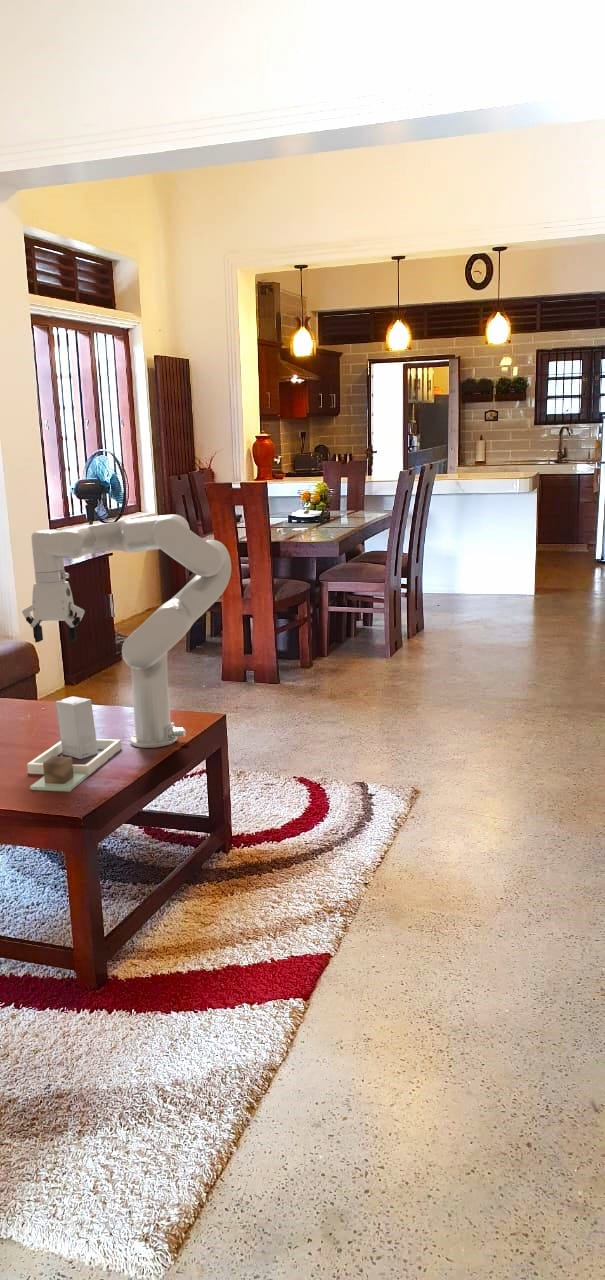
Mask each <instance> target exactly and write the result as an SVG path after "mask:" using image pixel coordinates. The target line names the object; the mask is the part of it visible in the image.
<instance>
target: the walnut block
mask: <svg viewBox="0 0 605 1280" xmlns="http://www.w3.org/2000/svg"><path fill="white" fill-rule="evenodd" d="M43 769H44V774H43V776H44V779H45V783H52V784H65V783H66V782H68V781H69V780H70V779H71V778H73V777H74V774H73V757H71V756H60V755H59V756H58V755H57V756H52V757H51V758H50V759H48V760H47V761H45V762H44V763H43Z"/></svg>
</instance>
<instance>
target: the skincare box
mask: <svg viewBox="0 0 605 1280" xmlns="http://www.w3.org/2000/svg"><path fill="white" fill-rule="evenodd" d="M55 705H56V714H57V721H58V728H59V736H60V741H61V744H62V755H63V756H66V757H72V758H76V759H80V760H83V759H86V758H89V757H92V756H95V755H96V756H97V755H98V754H99V749H98V748H97V741H96V739H97V734H96V725H95V719H94V711H93V704H92V699H90V698H84V697H78V696H74V695H73V696H69V697H66V698H63V699H60V700H56V701H55Z"/></svg>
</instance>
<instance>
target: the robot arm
mask: <svg viewBox="0 0 605 1280" xmlns="http://www.w3.org/2000/svg"><path fill="white" fill-rule="evenodd" d="M31 547H32V557H33V565H34V566H33V567H34V578H35V579H34V580H35V582H34V583H33V585H32V586H33V588H32V596H31V597H32V598H31V599H32V605H29V606H28V607H27V608H25V609H23V610H22V611H21V613H22V615H23V617H24V618H25V620H26V622H27V623H28V624H30V627H31V628H32V631H33V639H34V642H35V643H39V642H41V641H43V640H44V635H43V634H44V633H43V626H42V625H41V623H42V622H43V621H44V622H45V621H46V622H49V621H52V622H57V621H58V622H59V621H63V622H65V623H66V624H67V625H68V626H69V627H67V634H68V643H75V642H76V641H77V639H78V630H77V626H78V625H79V624H80V623H81V621H82V620H83V617H84V615H85V612H86V611H85V609H83V608H81V607H80V606H77V605H76V604H75V603H74V598H73V593H72V590H71V586H70V583H69V581H66V580H67V579H69V578H70V574H69V573H70V572H66V570H65V566H64V559H70V560H71V559H79V558H81V557H83V556H86V555H89V554H94V553H95V554H96V553H103V552H105V553H106V552H111V551H112V552H114V551H116V552H117V551H120V552H124V553H131V554H133V553H139V552H147V551H155V550H161V551H162V552H164V553H165V554H166V555H168V556H169V557H170V558H172V559H173V560H175V561H176V562H177V563H179V564H181V565H182V566H183V567H185V568H186V569H187V570H189V571H190V572H192V573H193V574H195V576H194V577H193V578H192V579H190V580H189V581H188V582H187V583H186V584H185V585H184V587H182V588H181V590H179V591H178V592H177V593H176V594H174V596H172V597H171V599H168V601H167V600H166V602H164V603H163V604H161V605H160V606H159V607H158V608H157V609H156V610H155V611H154V612H152V614H151V615H150V616H149V617H148V618H147V619H146V620H145V621H144V622H143V623H141V624H140V625H139V626H138V628H137V627H136V629H135V630H133V632H132V633H130V634H129V636H128V637H126V638H125V640H124V642H123V643H122V646H121V655H122V659H123V661H124V662H125V664H126V665H127V666H129V667H130V668H131V671H130V673H131V689H132V705H133V715H134V727H135V728H134V729H135V734H134V735H132V736H131V737H130V739H129V740H130V744H131V745H132V746H134V747H137V748H141V749H142V748H143V749H144V748H145V749H148V748H149V749H151V748H153V749H154V748H161V747H165V746H169V745H172V744H174V743H175V741H176V742H177V741H178V737H179V738H180V737H181V738H182V737H183V738H184V737H186V735H187V734H186V729H185V727H176V726H175V722H172V721H171V710H170V709H171V708H170V707H171V706H170V696H169V695H170V692H169V679H168V652H169V651H170V650H171V649H173V648H174V647H175V645H176V644H178V642H180V641H181V640H182V638H183V637H185V636H186V635H187V633H188V632H189V631H190V629H191V628H192V626H193V625H194V623H196V621H197V620H199V618H200V617H202V616H203V615H204V614H205V613H206V611H207V610H208V609H210V608H211V606H213V605H214V604H215V603H216V601H217V600H218V599H219V598H221V596H222V594H224V592H225V590H226V588H227V586H228V585H229V582H230V579H231V575H232V562H231V556H230V552H229V551H228V549H227V547H226V546H225V544H223V543H222V542H221V541H219V540H216V539H207V540H205V539H203V538H202V537H201V536H199V535H197V534H196V533H195V532H194V531H192V530H191V529H190V524H189V522H188V521H187V519H186V517H183V516H182V515H179V514H164V515H155V516H147V517H139V518H132V519H123V520H120V521H114V522H107V523H106V522H105V523H97V524H90V525H89V524H88V525H82V526H76V527H72V528H71V529H67V530H62V531H61V530H60V531H58V530H56V529H43V530H42V529H41V530H36V531H34V532H32V534H31ZM31 612H32V615H33V616H32V615H31ZM75 614H76V617H75ZM74 617H75V618H74Z"/></svg>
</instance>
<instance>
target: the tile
mask: <svg viewBox="0 0 605 1280" xmlns="http://www.w3.org/2000/svg"><path fill="white" fill-rule="evenodd" d="M73 774H74V777H73V778H71V779H70V780H69V781H68V782H66V783H65V784H52V783H45V779H44V775H43V776H42V777H41V778H40V779H38V780H36V781H35V782H34V783H33V784H31V785H30V786H29V791H50V792H71V791H72V790H73V789H74V788H76V787H77V786H78V785H79V784H80V783H82V782H83V781H84V780H85V779H87V778H88V777H89V776H87V774H85V773H73Z"/></svg>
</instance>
